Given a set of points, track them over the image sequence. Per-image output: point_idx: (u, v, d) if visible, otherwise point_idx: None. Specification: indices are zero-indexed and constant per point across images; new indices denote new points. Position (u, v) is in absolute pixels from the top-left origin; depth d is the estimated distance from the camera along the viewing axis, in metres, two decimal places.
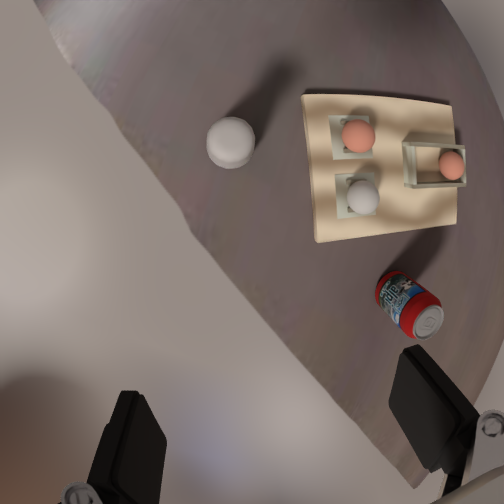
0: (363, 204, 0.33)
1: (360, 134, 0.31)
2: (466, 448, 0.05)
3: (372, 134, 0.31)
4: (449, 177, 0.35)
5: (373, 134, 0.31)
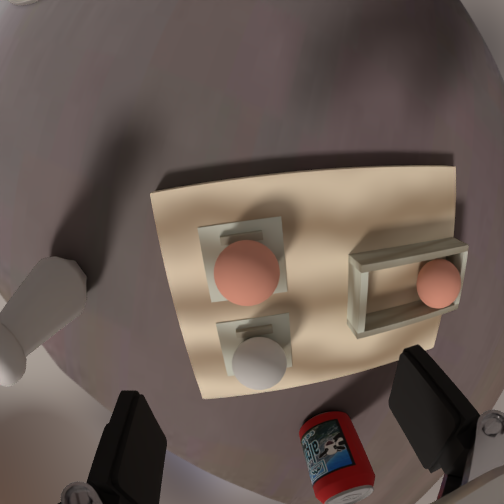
0: (250, 385, 0.20)
1: (236, 286, 0.17)
2: (466, 448, 0.05)
3: (265, 282, 0.18)
4: (430, 306, 0.22)
5: (269, 280, 0.18)
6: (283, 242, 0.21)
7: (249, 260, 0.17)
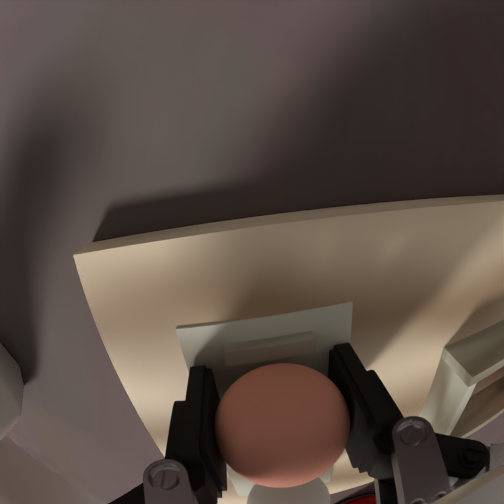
0: None
1: (266, 480, 0.06)
2: (381, 452, 0.06)
3: (326, 466, 0.06)
4: None
5: (334, 458, 0.06)
6: None
7: (297, 438, 0.06)
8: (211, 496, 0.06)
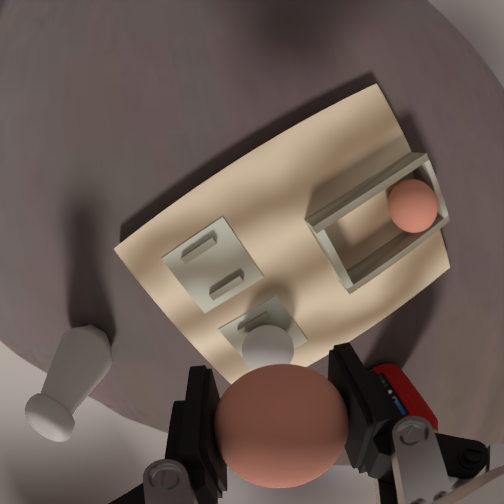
0: None
1: (264, 480, 0.06)
2: (381, 452, 0.06)
3: (325, 466, 0.06)
4: (414, 232, 0.21)
5: (332, 459, 0.06)
6: (236, 237, 0.23)
7: (295, 439, 0.06)
8: (211, 496, 0.06)
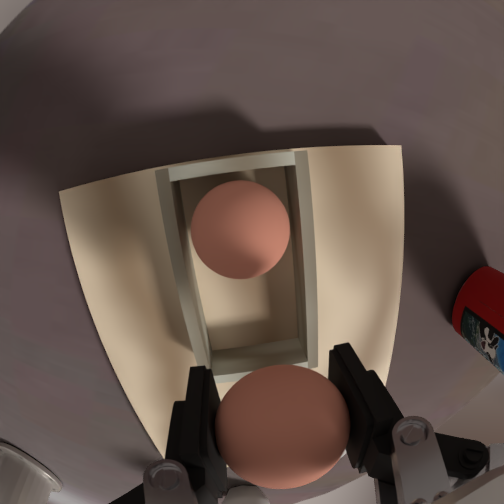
0: None
1: (266, 481, 0.06)
2: (381, 452, 0.06)
3: (326, 467, 0.06)
4: (284, 251, 0.13)
5: (334, 460, 0.06)
6: None
7: (298, 440, 0.06)
8: (211, 496, 0.06)
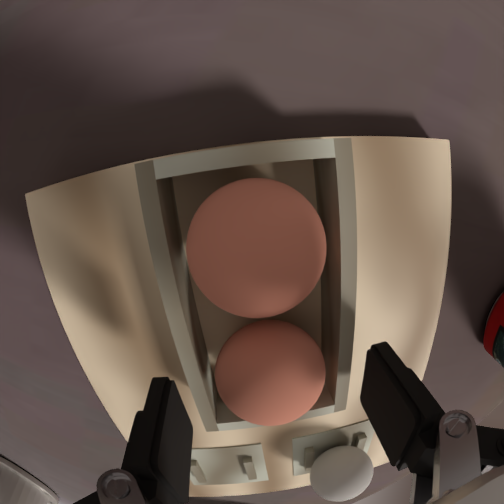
0: None
1: (256, 412, 0.09)
2: (428, 447, 0.05)
3: (305, 402, 0.09)
4: None
5: (311, 396, 0.09)
6: (199, 448, 0.15)
7: (279, 371, 0.09)
8: None
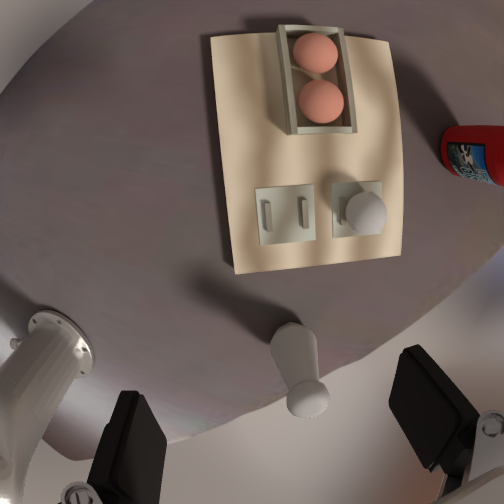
0: (378, 226, 0.26)
1: (318, 96, 0.22)
2: (466, 448, 0.05)
3: (336, 97, 0.22)
4: (335, 62, 0.22)
5: (338, 97, 0.22)
6: (274, 187, 0.29)
7: (325, 83, 0.22)
8: None
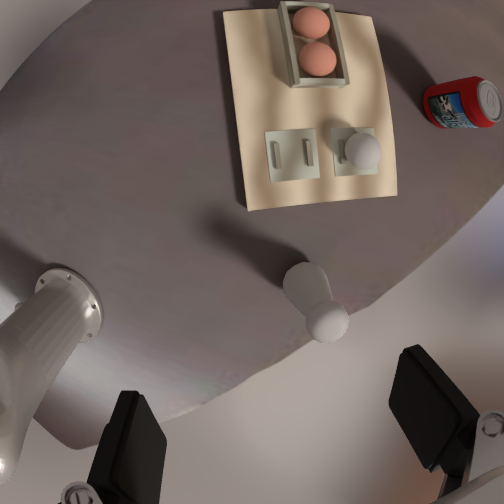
0: (375, 159, 0.29)
1: (315, 52, 0.25)
2: (466, 448, 0.05)
3: (330, 53, 0.25)
4: (328, 29, 0.25)
5: (331, 53, 0.25)
6: (281, 130, 0.31)
7: (320, 43, 0.25)
8: None
